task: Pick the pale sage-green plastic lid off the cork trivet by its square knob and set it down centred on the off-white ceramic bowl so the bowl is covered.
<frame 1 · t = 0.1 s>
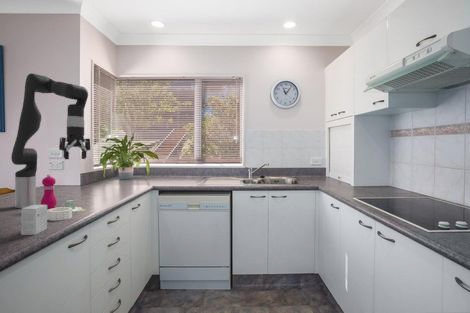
hand: (75, 159, 135), 29 cm above the worktop, fingers open, 8 cm apart
trivet: (69, 212, 146), on the worktop
pepper mill: (48, 211, 148), on the worktop
small box: (34, 232, 113), on the worktop
bowl: (59, 219, 132), on the worktop
lid: (69, 210, 146), point 1 cm above the worktop, touching trivet
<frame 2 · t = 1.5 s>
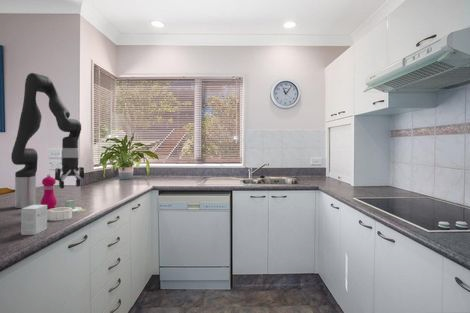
hand: (70, 187, 145), 13 cm above the worktop, fingers open, 8 cm apart
nothing on the worktop moved.
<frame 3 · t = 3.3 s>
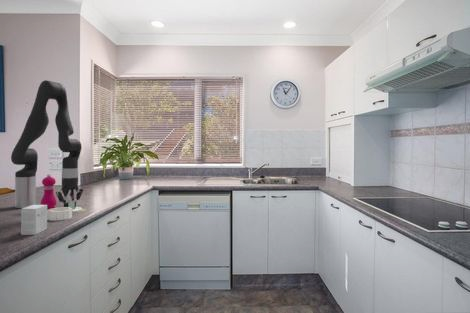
hand: (69, 208, 146), 2 cm above the worktop, fingers closed on lid, 3 cm apart
lid: (69, 210, 146), point 1 cm above the worktop, touching gripper, trivet
everything else where it was.
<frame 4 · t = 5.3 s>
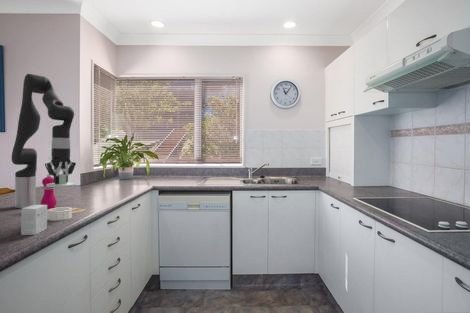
hand: (60, 183, 131), 17 cm above the worktop, fingers closed on lid, 3 cm apart
lid: (60, 185, 131), point 17 cm above the worktop, touching gripper
everything else where it was.
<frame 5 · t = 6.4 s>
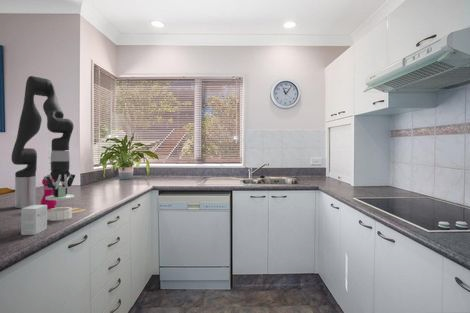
hand: (60, 196, 131), 11 cm above the worktop, fingers closed on lid, 3 cm apart
lid: (60, 197, 131), point 11 cm above the worktop, touching gripper
everything else where it was.
when the fingers open (7 cm above the worktop, at t = 7.5 s): lid drops 1 cm, resting on bowl.
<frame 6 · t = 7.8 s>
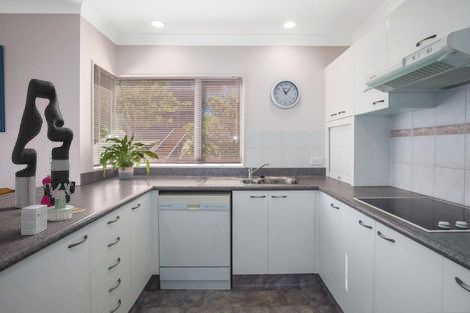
hand: (59, 203, 131), 8 cm above the worktop, fingers open, 6 cm apart
lid: (60, 209, 131), point 5 cm above the worktop, touching bowl
everything else where it was.
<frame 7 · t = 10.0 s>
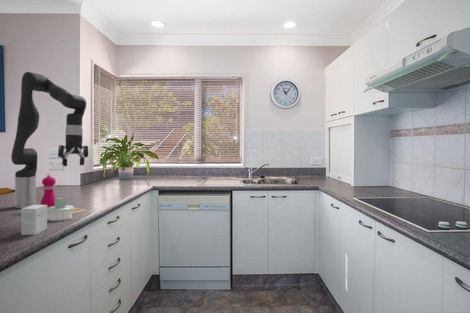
hand: (73, 165, 142), 25 cm above the worktop, fingers open, 8 cm apart
nothing on the worktop moved.
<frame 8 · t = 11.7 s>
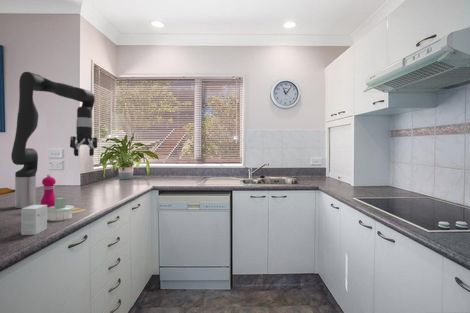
hand: (84, 155, 151), 30 cm above the worktop, fingers open, 8 cm apart
nothing on the worktop moved.
at the end: lid 0.1 cm off-centre on the bowl, point 5.0 cm above the bowl's base; lid tilted 0°; the gripper is holding nothing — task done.
